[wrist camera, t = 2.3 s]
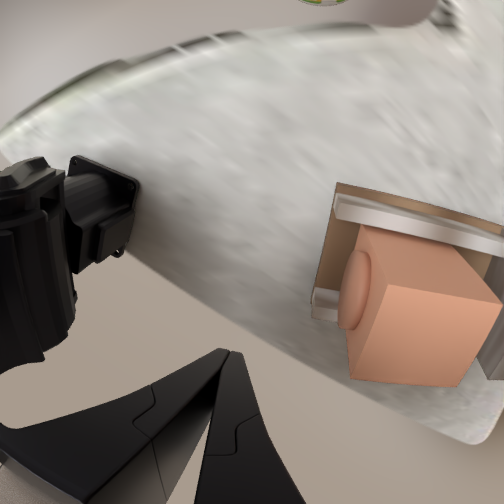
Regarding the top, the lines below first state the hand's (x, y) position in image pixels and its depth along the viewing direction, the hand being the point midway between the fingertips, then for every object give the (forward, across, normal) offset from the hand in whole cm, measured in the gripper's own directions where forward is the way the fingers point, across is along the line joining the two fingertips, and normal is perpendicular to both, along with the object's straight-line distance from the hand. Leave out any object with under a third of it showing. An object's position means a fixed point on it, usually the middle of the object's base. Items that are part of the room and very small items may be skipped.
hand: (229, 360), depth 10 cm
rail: (+12, +11, 0) cm, 17 cm away
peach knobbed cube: (+10, +8, 0) cm, 13 cm away
